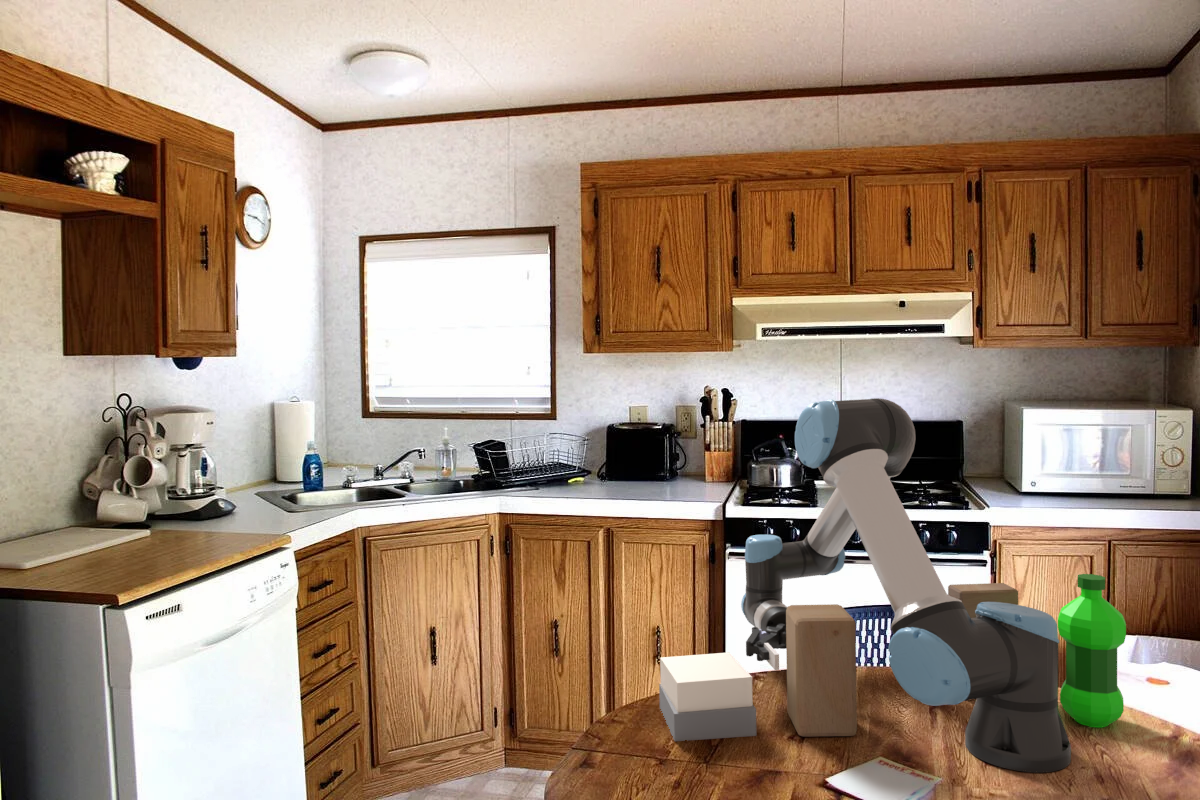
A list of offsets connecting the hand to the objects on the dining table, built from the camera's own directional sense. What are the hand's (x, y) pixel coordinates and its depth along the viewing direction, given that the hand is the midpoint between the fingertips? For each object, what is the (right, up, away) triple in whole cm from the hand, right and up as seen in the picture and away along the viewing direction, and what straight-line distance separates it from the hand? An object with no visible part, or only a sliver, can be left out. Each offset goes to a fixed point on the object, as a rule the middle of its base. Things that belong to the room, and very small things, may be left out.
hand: (815, 660), depth 150 cm
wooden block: (+1, -11, -1) cm, 11 cm away
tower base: (-19, -12, +2) cm, 22 cm away
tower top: (-19, -7, +2) cm, 20 cm away
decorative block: (+34, -10, +12) cm, 38 cm away
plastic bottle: (+47, -10, -2) cm, 48 cm away
